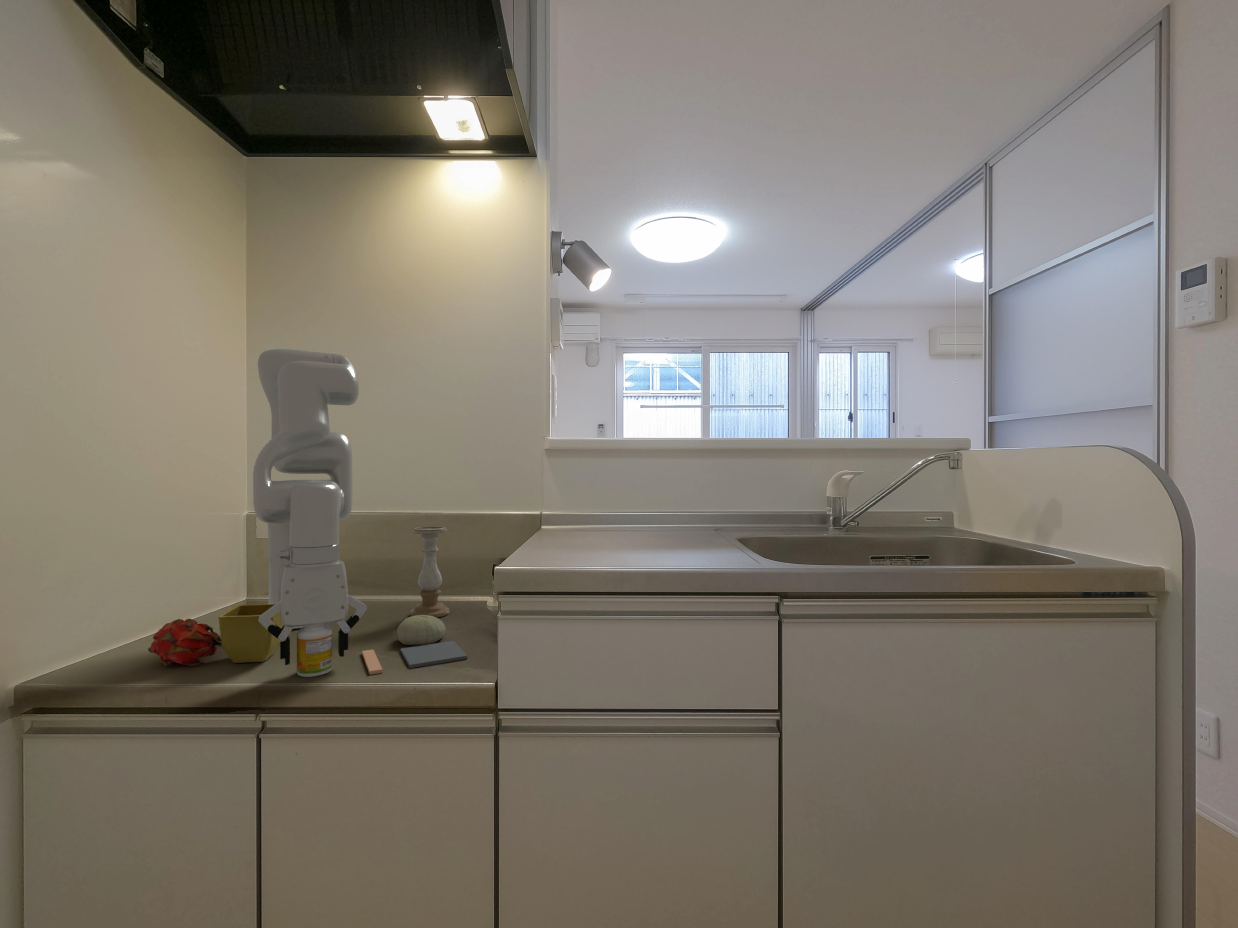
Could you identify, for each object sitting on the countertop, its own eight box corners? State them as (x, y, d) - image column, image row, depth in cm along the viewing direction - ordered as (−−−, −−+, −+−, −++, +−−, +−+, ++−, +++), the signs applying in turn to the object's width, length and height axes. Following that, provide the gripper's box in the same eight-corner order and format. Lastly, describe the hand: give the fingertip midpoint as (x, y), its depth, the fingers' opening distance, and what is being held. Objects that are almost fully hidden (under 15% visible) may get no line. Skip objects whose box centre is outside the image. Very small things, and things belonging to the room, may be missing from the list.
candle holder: (430, 621, 132) (430, 531, 132) (401, 616, 136) (401, 528, 135) (457, 612, 140) (457, 527, 140) (429, 607, 143) (429, 525, 143)
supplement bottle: (298, 668, 101) (298, 613, 101) (332, 664, 104) (333, 609, 104) (295, 679, 97) (295, 620, 96) (331, 674, 99) (331, 617, 99)
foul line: (361, 653, 109) (361, 650, 109) (373, 652, 110) (373, 649, 110) (369, 674, 99) (369, 671, 99) (382, 672, 100) (382, 669, 100)
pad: (400, 651, 111) (400, 648, 111) (453, 643, 116) (453, 640, 116) (409, 668, 102) (409, 664, 102) (467, 658, 107) (467, 655, 107)
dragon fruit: (154, 668, 106) (216, 680, 105) (123, 653, 99) (189, 666, 98) (182, 623, 111) (242, 634, 110) (154, 606, 104) (218, 617, 103)
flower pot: (290, 649, 112) (290, 602, 112) (272, 665, 103) (272, 614, 103) (239, 652, 110) (239, 604, 110) (217, 668, 102) (217, 616, 101)
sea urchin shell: (434, 639, 112) (408, 608, 113) (408, 666, 113) (382, 635, 114) (457, 626, 121) (432, 597, 122) (432, 651, 122) (407, 622, 123)
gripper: (253, 563, 92) (253, 674, 93) (372, 554, 101) (372, 656, 101) (256, 556, 99) (256, 660, 99) (367, 548, 107) (367, 644, 108)
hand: (314, 657), depth 100 cm, fingers open, 7 cm apart
